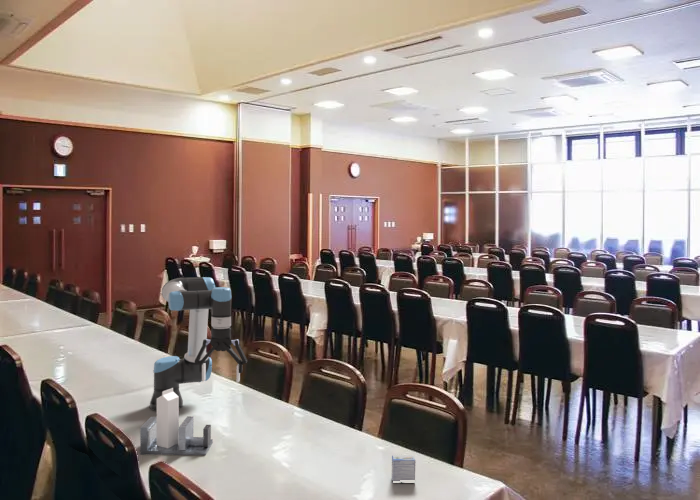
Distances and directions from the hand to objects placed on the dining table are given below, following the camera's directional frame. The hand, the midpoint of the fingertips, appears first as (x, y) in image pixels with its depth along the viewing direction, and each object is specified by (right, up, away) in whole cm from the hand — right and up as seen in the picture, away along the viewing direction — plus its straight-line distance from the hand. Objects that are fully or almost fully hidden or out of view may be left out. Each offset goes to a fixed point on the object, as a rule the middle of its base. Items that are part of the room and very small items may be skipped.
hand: (221, 380), depth 224 cm
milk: (-21, -26, +2) cm, 33 cm away
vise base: (-18, -27, +2) cm, 32 cm away
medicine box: (+69, -30, -23) cm, 79 cm away
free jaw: (-10, -25, +2) cm, 27 cm away
